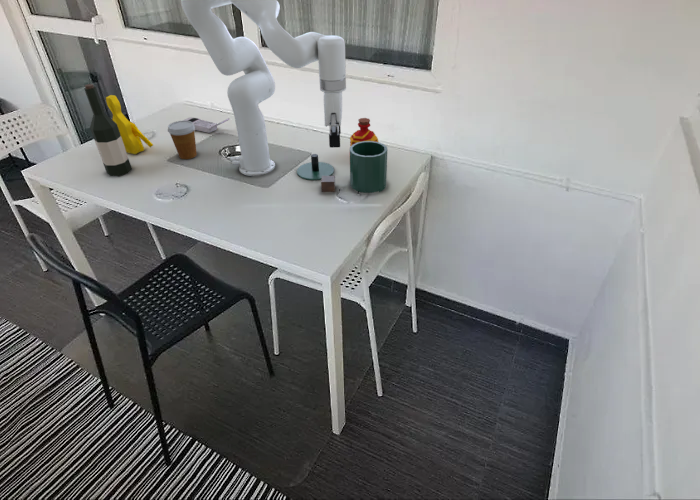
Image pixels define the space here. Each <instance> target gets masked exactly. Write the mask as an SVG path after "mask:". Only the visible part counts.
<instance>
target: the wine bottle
mask: <svg viewBox="0 0 700 500" xmlns="http://www.w3.org/2000/svg"><path fill="white" fill-rule="evenodd" d="M83 90H84V92H85V95H86V98H87V101H88V104H89V106H90V109H91V111H92V114H93V115H92V117H91V122H90V126H89V130H90V132H91V135H92V137H93V141H94V143H95V145H96V148H97V151H98V154H99V156H100V159H101V161H102V164H103V166H104V169H105V172H106V174H107V175H108V176H109V177H121V176H124V175H127V174H129V173H131V171H132V170H133V167H132V164H131V162H130V158H129V156H128V153H127V152H126V150H125V147H124V144H123V141H122V138H121V135H120V132H119V129H118V126H117V124H116V123H115V122H114V121H113V120H112V118H111V117H110V116H109V115H108V114H106V112H105V109H104V107H103V104H102V101H101V98H100V95H99V92H98V89H97V87H96V86H95V85H94V84H93V83H88V84H85V85H84V88H83Z"/></svg>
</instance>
